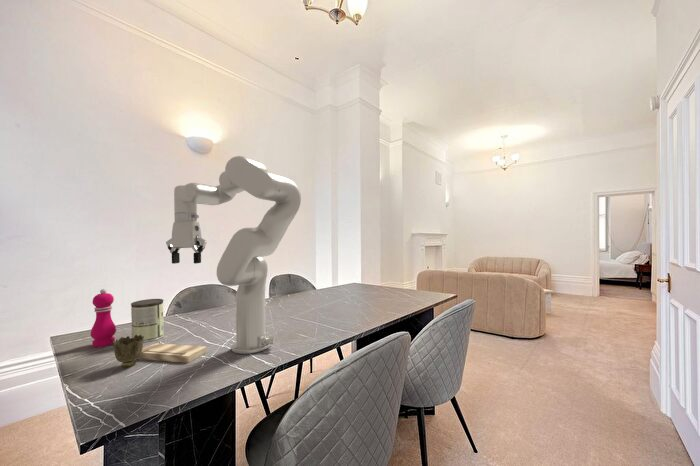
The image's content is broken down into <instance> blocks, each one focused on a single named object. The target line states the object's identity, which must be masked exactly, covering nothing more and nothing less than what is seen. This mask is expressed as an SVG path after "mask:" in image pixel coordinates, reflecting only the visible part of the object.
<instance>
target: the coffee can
mask: <svg viewBox="0 0 700 466" xmlns="http://www.w3.org/2000/svg"><path fill="white" fill-rule="evenodd" d="M130 306H131V307H130V309H131V314H130V315H131V316H130V317H131V338H134V336H135V335H137V336H139V335H142V337H143V336H144V340H143V344H144V343H150V342H153V341H157V340H160V339H162V338H164V336H165V334H164V299H163V298H148V299H142V300H136V301H133V302H131V303H130Z"/></svg>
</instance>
